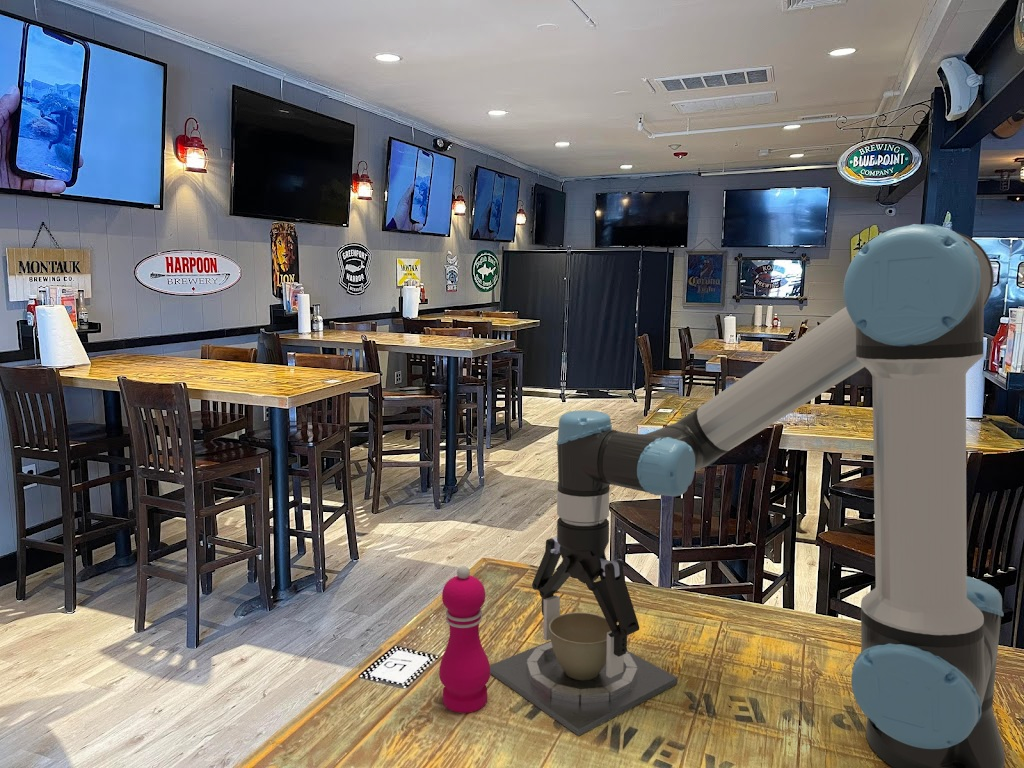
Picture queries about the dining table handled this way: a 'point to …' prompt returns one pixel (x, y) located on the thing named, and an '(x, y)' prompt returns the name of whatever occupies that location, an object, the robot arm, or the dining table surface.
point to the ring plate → (580, 687)
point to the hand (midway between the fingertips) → (581, 654)
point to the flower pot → (580, 643)
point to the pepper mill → (464, 645)
